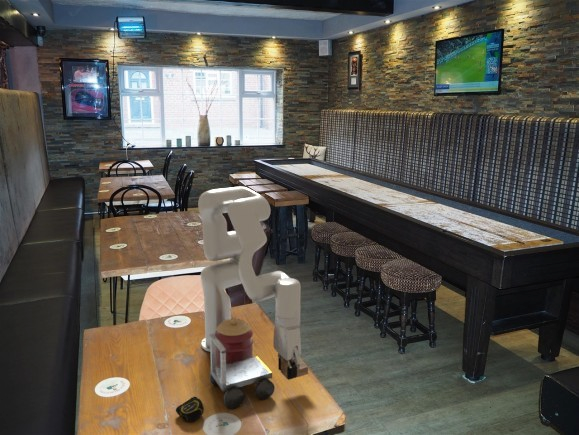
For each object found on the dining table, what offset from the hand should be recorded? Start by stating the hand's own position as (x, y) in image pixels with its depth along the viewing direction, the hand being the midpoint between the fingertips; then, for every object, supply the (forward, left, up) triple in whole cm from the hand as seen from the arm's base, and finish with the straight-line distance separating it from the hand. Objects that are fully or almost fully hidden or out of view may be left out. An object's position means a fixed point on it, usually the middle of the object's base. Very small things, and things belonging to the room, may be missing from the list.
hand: (287, 372), depth 149 cm
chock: (0, +2, -1) cm, 3 cm away
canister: (-23, -9, -7) cm, 25 cm away
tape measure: (-5, -29, -6) cm, 30 cm away
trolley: (-7, -13, -7) cm, 16 cm away
